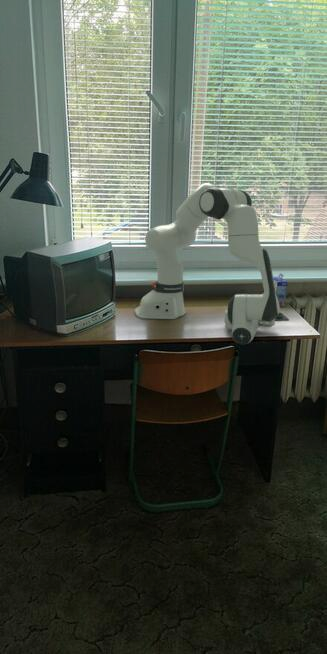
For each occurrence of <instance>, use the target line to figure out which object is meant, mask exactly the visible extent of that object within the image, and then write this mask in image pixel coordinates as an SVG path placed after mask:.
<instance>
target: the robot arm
mask: <svg viewBox="0 0 327 654" xmlns="http://www.w3.org/2000/svg"><path fill="white" fill-rule="evenodd" d="M252 203H253V202H252V198H251V196H250V195H249V194H248V192H246V191H243V190H241V189H235V188H232V187H217V186H216V185H214V184H212V183H209V182H204V183H202V184H201V185H200V186H198V187H196V188H195V190H193V191H192V192H191V193H190V194H189V196H188V197H187V198H186V199H185V200H184V201H183V202H182V204H181V205H180V206H179V207H178V209H176V212H175V221H173V222H171V223H169V224H162V225H157V226H155V227H153V228H151V229H149V230H148V231H147V232H146V234H145V237H144V239H145V240H144V241H145V245H146V247H147V249H148V250H149V251H150V252H151V253H152V254H153V256H154V257H155V261H156V264H157V265H156V268H157V280H156V281H154V280H151V282H150V285H151V286H152V289H151V290H150V291H149V292H148V293H147V294H145V295H144V296H143V297H142V298H141V300H140V303H139V306H138V307H136V308H135V309H134V314H135V316H136V317H138V318H140V319H154V320H157V319H159V320H176V319H177V318H179V317H181V316H184V315H185V314H186V309H185V305H184V290H185V283H184V264H183V263H182V261H181V260H179V259H178V257H177V252H176V251H177V250H181V249H185V248H188V247H189V246H191V245H193V244H194V243H195V241H196V238H197V237H196V236H197V234H196V232H197V230H198V228H200V227H201V225H202V224H203V223H204V222H205V221H206V220H207V218H212V219H216V220H218V221H220V220H222V219H223V220H225V221H226V224H227V244H228V249H229V253H230V254H231V256H233V257H234V258H235V259H237V260H239V261H242V262H244V263H247V264H250V265H252V266H254V267H256V268H257V269H258V270H259V272H260V275H261V281H262V287H263V291H264V292H263V293H261V294H260V293H258V294H257V293H252V294H250V293H249V294H248V293H236V294H234V295H233V296H232V297H231V298H230V299H229V301H228V305H227V309H225V311H224V324H225V325H224V327H225V328H227V329H229V330H231V337H232V340H233V341H234V342H235V343H236V344H239V345H248V344H249V343H250V342H252V341H253V339H254V337H255V336H256V333H257V331H258V329H259V328H258V327H261V328H272V327H273V326H275V324H276V321H275V318H276V317H277V316H278V315H279V313H280V309H281V307H280V306H279V301H278V298H277V296H276V291H275V285H274V280H273V277H274V275H273V274H274V273H273V269H272V264H271V259H270V256H269V253H268V251H267V249H264V248H263V247H262V245H261V243H260V238H259V221H258V216H257V212H256V209H255V208H254V206H252Z"/></svg>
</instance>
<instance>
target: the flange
mask: <svg viewBox="0 0 327 654" xmlns="http://www.w3.org/2000/svg"><path fill="white" fill-rule="evenodd" d="M289 320H290V319H289V318H288V317H287V316H286V315H284V313H282V312H279V315H278V316H277V317H276V318H275V322H277V321H279V322H280V321H289Z"/></svg>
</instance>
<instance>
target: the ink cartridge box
mask: <svg viewBox="0 0 327 654" xmlns="http://www.w3.org/2000/svg"><path fill="white" fill-rule="evenodd" d="M283 278H284V274H282V273H280V274H278V276H273V280H274V285H275V291H276V296H277V298H278V301H279V306H280V308H281V307H285V306H286V305H285V304H286V297H287V296H286V295H287V290H288V289H287V288H288V281H287V280H285V279H283Z"/></svg>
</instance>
